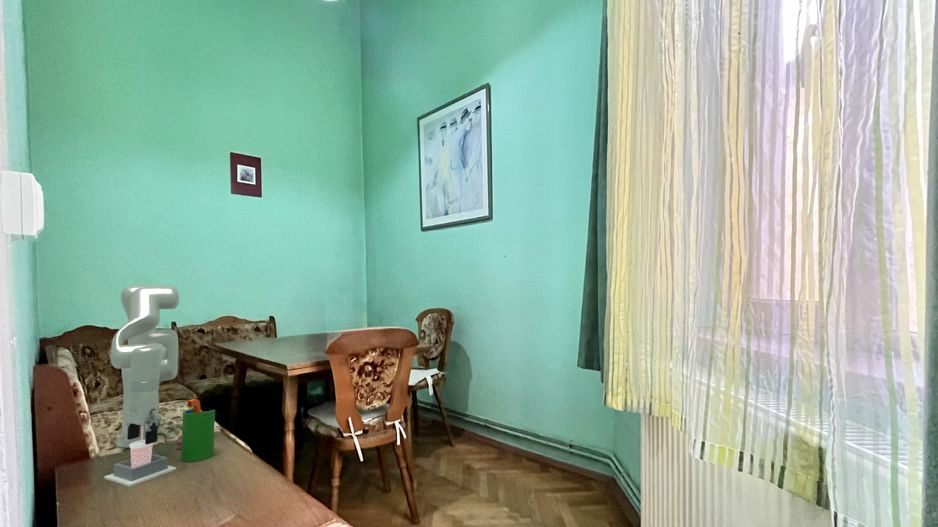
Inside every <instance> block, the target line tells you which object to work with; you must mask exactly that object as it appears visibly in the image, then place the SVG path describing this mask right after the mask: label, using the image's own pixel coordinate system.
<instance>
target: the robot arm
mask: <svg viewBox="0 0 938 527" xmlns="http://www.w3.org/2000/svg"><path fill="white" fill-rule="evenodd" d="M120 301H121V304H122V307H123V309H124V312H125V315H126V316H127V320H128V322H126V323H125V324H123V326H121V327H120V328H119V329H118V330H117V331H116V333H115V334H114V336H113V337H112V341H111V348H110V349H111V350H110V362H111V366H112V367H113V368H115V369H118V370H120V369H121V378H122V388H123V399H122V400H123V402H122V403H123V404H122V421H121V423H122V424H121V425H122V426H121V431H120V435H121V439H120V440H117V441H116V443H115V447H117V448H123V449H124V448H130V446H129V445H130V444H131V443H133V442H135V441H139V440H141V428H142V426H143V440H144V439H145V444H146V445H148V444H151V443H153V444H155V443H157V442H158V439H159V435H158V433H159V432H158V431H159V430H160V429H159V428H160V425H161V421H162V415H160V396H159V389H160V382H165V381H166V382H167V381H171V380H174V379H176V377H177V376H178V370H179V337H178V333H177V332H176V331H175V330H174V329H169V328H168V329H167V328H165V329H156V328H157V327H158V326H159V324H160V322H161V317H160V316H161V315H160V314H161V313H160V312H161V311H160V310H175V309H176V308H177V307H178V306H179V302H180V294H179V290H178V289H177V287H175V286H174V285H130V286H126V287H124V288H122V290H121V292H120ZM126 341H127V344H124V343H125V342H126Z"/></svg>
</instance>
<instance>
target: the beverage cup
mask: <svg viewBox="0 0 938 527" xmlns="http://www.w3.org/2000/svg"><path fill="white" fill-rule="evenodd" d="M153 445H154V443H151V444H148V445H146V444H145V439H144V440H143V426H142V428H141V440H139V441H135V442H133V443H131V444H130V445H129V446H130V447H129V448H130V459H131V467H133V468H135V467H138V466H141V465H144V464H147V463H150V462H151V455H152V454H153Z"/></svg>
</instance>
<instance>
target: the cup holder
mask: <svg viewBox="0 0 938 527" xmlns="http://www.w3.org/2000/svg"><path fill="white" fill-rule="evenodd" d="M176 470H177V467H175V466H172V465H169V457H167V456H164V455H160V454H156V453H152V455H151V462H150V463H147V464H144V465H141V466H138V467H135V468H133V467H131V458H129V459H126V460H123V461H121V462H120V461H119V462H117V463H114V464H113V473H110V474H108V475H104V476H103V479H104V480H107V481H111V482H114V483H116V484H119V485H122V486H125V487H128V488H129V487H130V488H131V487H132V486H136V485H138V484H141V483H143V482H146V481H149V480H152V479H155V478H158V477H160V476H162V475H165V474H168V473H171V472H174V471H176Z"/></svg>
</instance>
